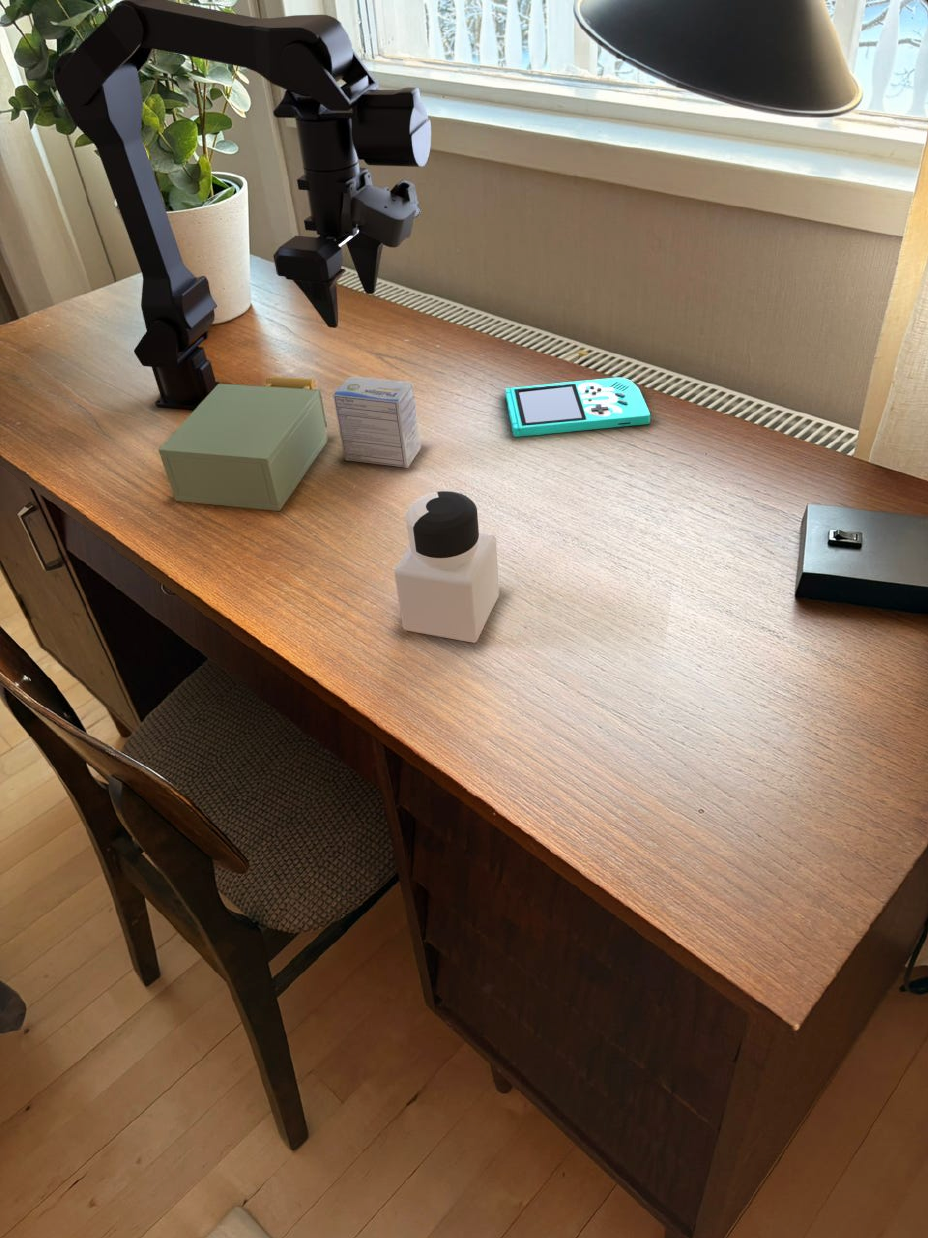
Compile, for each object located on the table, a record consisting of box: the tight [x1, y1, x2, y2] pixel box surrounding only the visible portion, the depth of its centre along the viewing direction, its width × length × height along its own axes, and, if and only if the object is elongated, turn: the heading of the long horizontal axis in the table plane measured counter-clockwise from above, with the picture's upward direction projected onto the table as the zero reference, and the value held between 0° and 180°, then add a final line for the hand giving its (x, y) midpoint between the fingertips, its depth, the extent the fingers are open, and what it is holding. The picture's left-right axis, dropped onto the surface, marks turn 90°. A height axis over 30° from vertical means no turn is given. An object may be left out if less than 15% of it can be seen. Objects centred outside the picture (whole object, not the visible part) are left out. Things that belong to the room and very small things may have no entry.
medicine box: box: [332, 375, 422, 469], centre depth 105 cm, size 8×4×9 cm, turn 70°
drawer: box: [230, 376, 328, 429], centre depth 109 cm, size 18×11×5 cm, turn 165°
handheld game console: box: [505, 377, 651, 438], centre depth 112 cm, size 10×16×1 cm, turn 94°
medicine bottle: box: [394, 490, 500, 644], centre depth 83 cm, size 7×7×12 cm
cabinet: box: [158, 383, 329, 512], centre depth 106 cm, size 15×13×7 cm
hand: (352, 309), depth 107 cm, fingers open, 9 cm apart
